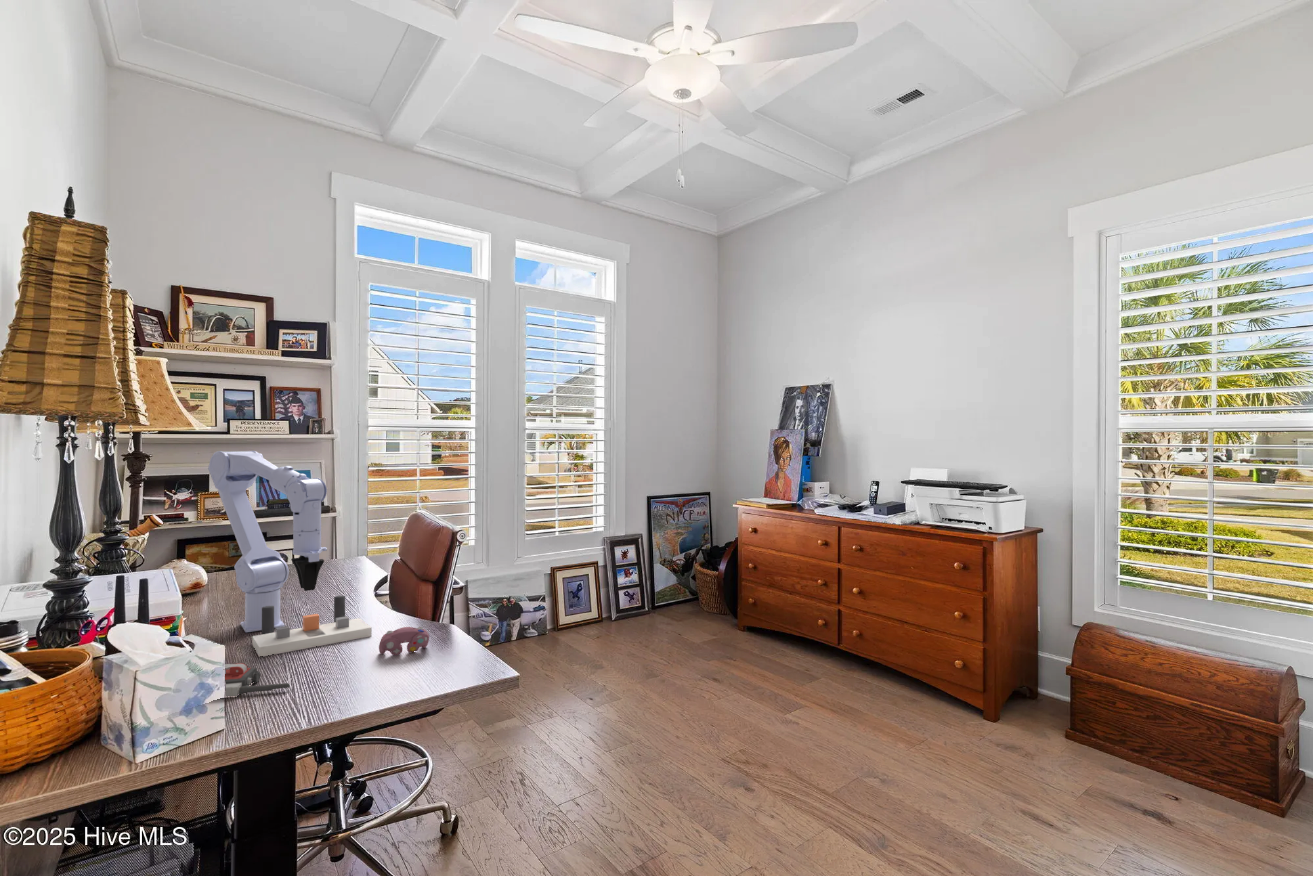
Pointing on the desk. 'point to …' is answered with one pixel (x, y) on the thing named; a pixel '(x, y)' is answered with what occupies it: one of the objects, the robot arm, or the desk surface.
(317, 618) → the slide switch
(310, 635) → the off-white rectangular base
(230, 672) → the toy chainsaw
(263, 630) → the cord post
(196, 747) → the desk surface
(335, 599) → the post
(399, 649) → the video game controller
